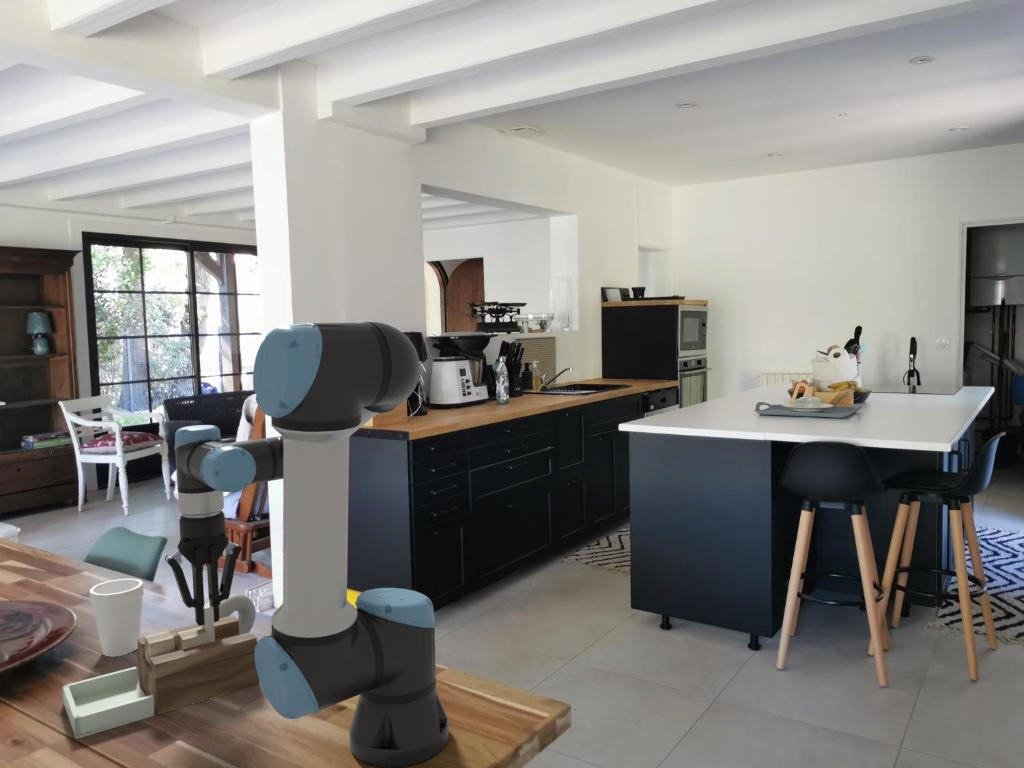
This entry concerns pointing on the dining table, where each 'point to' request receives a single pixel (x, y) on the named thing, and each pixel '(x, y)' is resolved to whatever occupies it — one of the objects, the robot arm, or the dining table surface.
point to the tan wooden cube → (159, 644)
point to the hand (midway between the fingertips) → (208, 640)
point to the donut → (239, 611)
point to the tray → (106, 702)
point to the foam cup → (118, 614)
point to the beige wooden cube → (191, 638)
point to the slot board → (200, 667)
